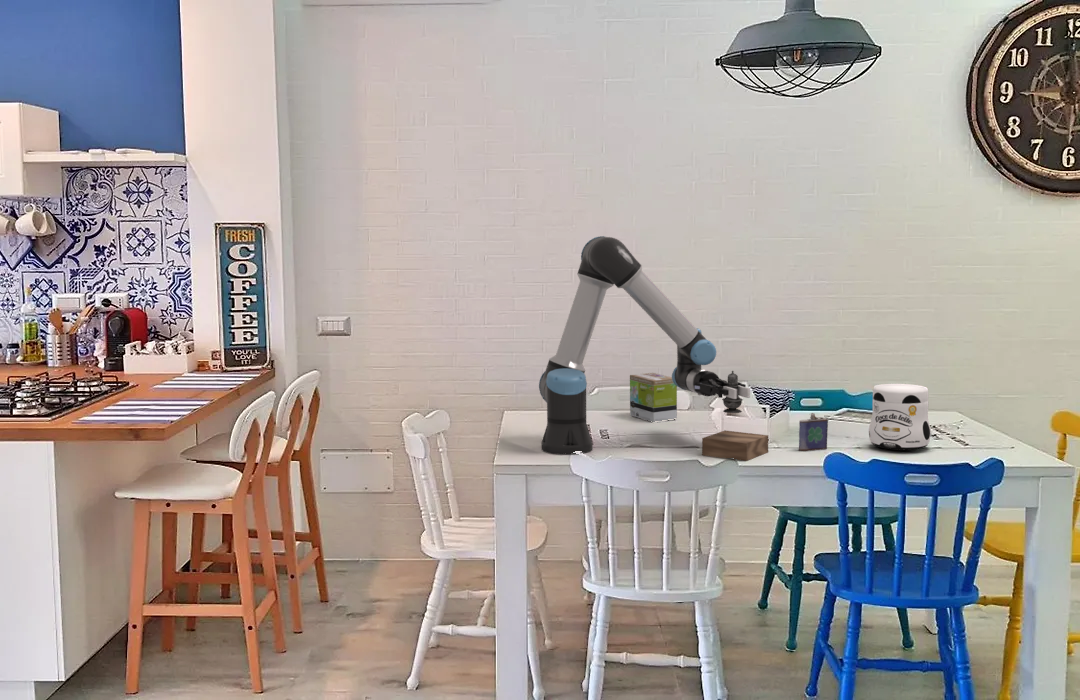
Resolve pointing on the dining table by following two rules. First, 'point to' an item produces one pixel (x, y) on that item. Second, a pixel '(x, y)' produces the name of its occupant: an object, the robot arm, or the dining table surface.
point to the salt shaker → (731, 402)
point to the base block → (735, 445)
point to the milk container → (900, 417)
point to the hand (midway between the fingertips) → (742, 393)
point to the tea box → (653, 397)
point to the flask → (813, 433)
